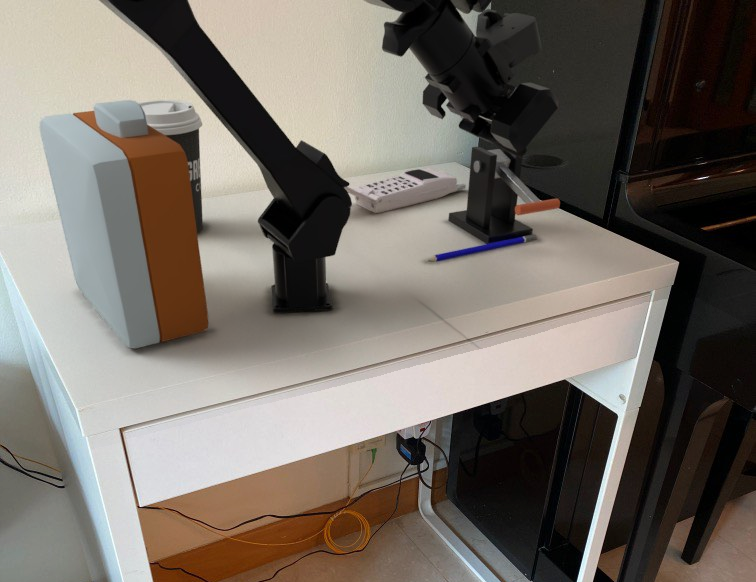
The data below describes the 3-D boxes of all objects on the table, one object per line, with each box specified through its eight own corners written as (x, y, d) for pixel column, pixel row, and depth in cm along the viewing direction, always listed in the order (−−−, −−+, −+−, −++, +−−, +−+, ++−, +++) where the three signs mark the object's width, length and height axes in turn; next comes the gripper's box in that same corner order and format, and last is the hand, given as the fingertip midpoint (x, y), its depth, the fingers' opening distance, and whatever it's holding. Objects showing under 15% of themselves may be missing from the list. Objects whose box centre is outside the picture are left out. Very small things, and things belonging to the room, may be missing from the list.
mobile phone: (307, 171, 107) (445, 142, 119) (308, 214, 111) (442, 182, 123) (332, 183, 103) (472, 151, 115) (333, 227, 107) (468, 193, 119)
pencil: (532, 240, 105) (533, 233, 104) (536, 242, 104) (537, 235, 104) (425, 263, 98) (426, 255, 97) (429, 265, 97) (430, 257, 97)
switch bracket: (531, 237, 105) (543, 156, 98) (487, 245, 102) (496, 162, 96) (490, 214, 112) (498, 136, 105) (448, 221, 109) (453, 142, 103)
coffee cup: (192, 246, 101) (174, 119, 91) (127, 236, 103) (104, 111, 93) (226, 222, 108) (214, 102, 98) (165, 213, 110) (147, 95, 101)
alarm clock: (213, 335, 82) (185, 120, 69) (130, 356, 78) (85, 133, 65) (150, 274, 94) (116, 81, 81) (76, 290, 90) (28, 90, 77)
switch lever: (556, 214, 98) (562, 197, 97) (517, 221, 96) (522, 204, 94) (507, 164, 104) (511, 146, 103) (468, 169, 102) (473, 152, 100)
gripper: (558, -6, 73) (624, 113, 84) (452, -26, 86) (522, 80, 97) (478, 95, 75) (553, 198, 86) (386, 61, 88) (462, 155, 99)
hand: (522, 153), depth 92 cm, fingers closed
